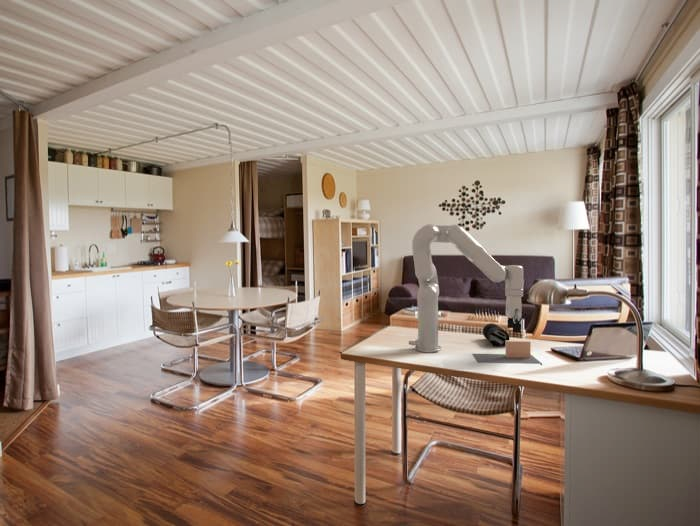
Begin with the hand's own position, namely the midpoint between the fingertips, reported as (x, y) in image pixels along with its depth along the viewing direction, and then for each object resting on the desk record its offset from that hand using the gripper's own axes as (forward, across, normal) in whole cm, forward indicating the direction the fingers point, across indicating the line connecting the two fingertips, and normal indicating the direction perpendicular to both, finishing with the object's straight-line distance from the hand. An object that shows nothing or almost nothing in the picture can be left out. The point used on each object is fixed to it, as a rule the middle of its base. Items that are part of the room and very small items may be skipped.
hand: (513, 330), depth 186 cm
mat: (+11, +9, -6) cm, 15 cm away
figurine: (+12, -21, -4) cm, 24 cm away
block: (+11, +6, 0) cm, 12 cm away
